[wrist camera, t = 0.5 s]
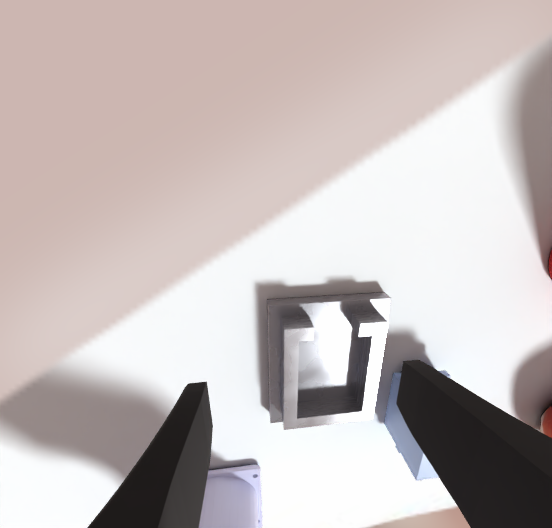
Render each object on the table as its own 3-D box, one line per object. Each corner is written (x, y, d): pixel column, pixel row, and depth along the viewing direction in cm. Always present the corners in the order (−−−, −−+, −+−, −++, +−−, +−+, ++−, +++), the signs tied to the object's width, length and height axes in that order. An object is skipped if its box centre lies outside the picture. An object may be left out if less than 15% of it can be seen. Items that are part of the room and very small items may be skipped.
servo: (420, 426, 26) (467, 495, 20) (382, 431, 25) (420, 502, 20) (437, 357, 23) (497, 415, 17) (394, 361, 22) (443, 421, 17)
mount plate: (368, 401, 23) (381, 427, 21) (269, 412, 22) (272, 440, 20) (384, 292, 20) (403, 308, 17) (267, 299, 19) (270, 317, 16)
